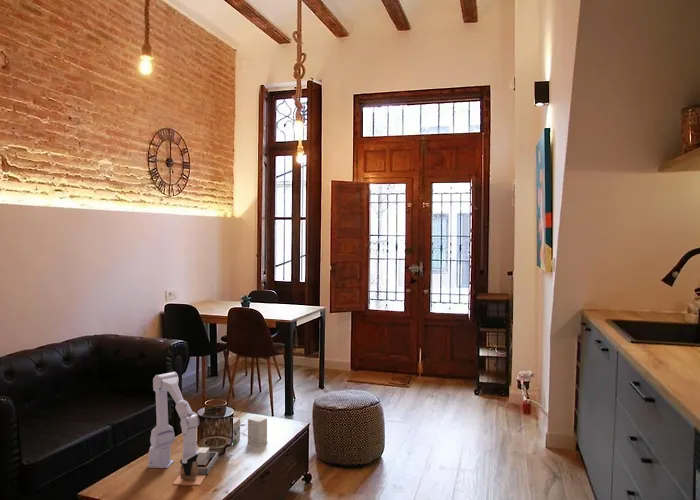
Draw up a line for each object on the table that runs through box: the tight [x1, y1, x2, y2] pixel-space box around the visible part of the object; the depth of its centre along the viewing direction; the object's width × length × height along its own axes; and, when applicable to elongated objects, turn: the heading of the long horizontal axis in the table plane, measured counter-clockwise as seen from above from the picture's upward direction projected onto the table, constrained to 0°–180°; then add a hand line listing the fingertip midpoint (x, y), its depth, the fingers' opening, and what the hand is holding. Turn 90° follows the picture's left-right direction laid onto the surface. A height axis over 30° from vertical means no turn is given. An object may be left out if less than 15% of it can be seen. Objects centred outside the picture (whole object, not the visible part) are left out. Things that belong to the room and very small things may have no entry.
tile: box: [172, 473, 207, 486], centre depth 241 cm, size 12×9×1 cm
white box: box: [196, 447, 210, 466], centre depth 260 cm, size 4×6×6 cm
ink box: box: [232, 417, 241, 447], centre depth 284 cm, size 9×5×12 cm, turn 168°
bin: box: [198, 451, 219, 476], centre depth 256 cm, size 12×18×3 cm
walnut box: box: [180, 462, 199, 480], centre depth 241 cm, size 4×6×6 cm
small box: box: [247, 415, 268, 447], centre depth 284 cm, size 8×6×13 cm
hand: (189, 472), depth 241 cm, fingers closed on walnut box, 4 cm apart
